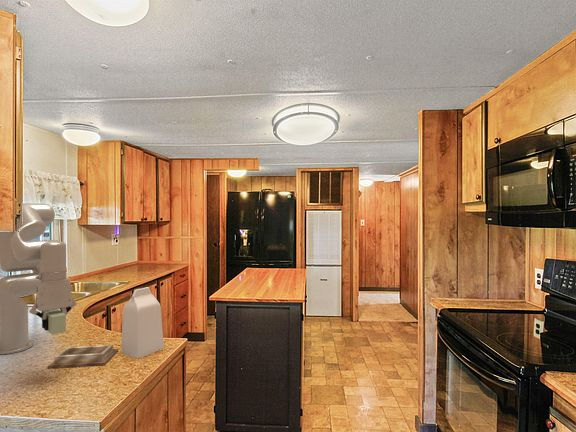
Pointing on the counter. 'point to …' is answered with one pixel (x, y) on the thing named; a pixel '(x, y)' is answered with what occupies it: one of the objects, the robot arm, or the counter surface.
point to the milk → (142, 325)
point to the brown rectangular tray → (83, 356)
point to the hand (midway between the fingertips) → (54, 327)
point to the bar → (56, 321)
